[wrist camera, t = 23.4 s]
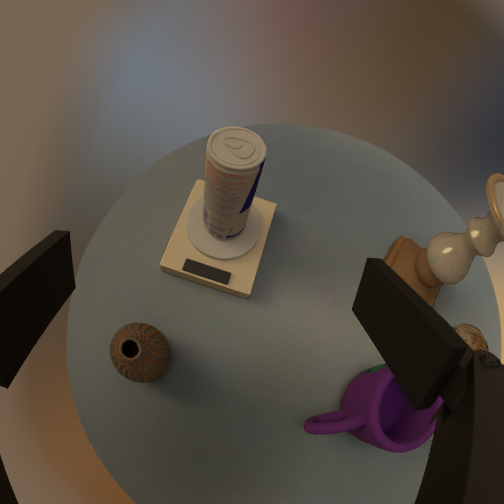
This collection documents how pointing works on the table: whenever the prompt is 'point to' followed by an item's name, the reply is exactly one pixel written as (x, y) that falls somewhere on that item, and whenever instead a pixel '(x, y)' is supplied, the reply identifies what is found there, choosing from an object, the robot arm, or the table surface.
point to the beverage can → (231, 179)
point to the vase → (140, 352)
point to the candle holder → (450, 248)
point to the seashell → (472, 336)
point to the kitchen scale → (217, 247)
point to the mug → (378, 413)
